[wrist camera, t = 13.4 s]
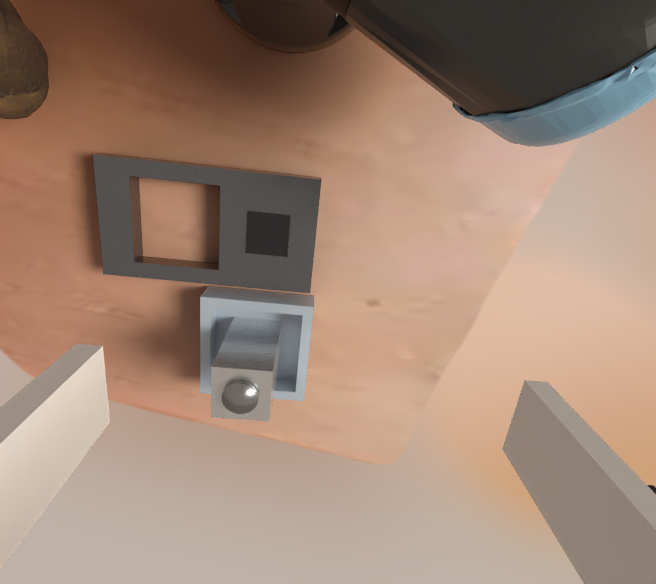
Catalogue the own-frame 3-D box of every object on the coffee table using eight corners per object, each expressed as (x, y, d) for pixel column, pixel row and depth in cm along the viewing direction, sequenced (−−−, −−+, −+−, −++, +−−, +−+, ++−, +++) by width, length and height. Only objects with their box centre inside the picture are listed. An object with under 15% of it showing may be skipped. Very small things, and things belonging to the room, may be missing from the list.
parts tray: (208, 285, 41) (200, 296, 39) (313, 295, 42) (313, 307, 39) (207, 377, 45) (200, 393, 42) (304, 384, 46) (303, 400, 43)
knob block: (234, 316, 42) (209, 370, 32) (282, 320, 42) (271, 375, 32) (233, 358, 44) (209, 421, 34) (279, 361, 44) (268, 425, 34)
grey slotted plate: (103, 153, 37) (92, 154, 35) (321, 177, 38) (321, 179, 36) (113, 267, 40) (102, 274, 39) (310, 286, 42) (309, 293, 40)
